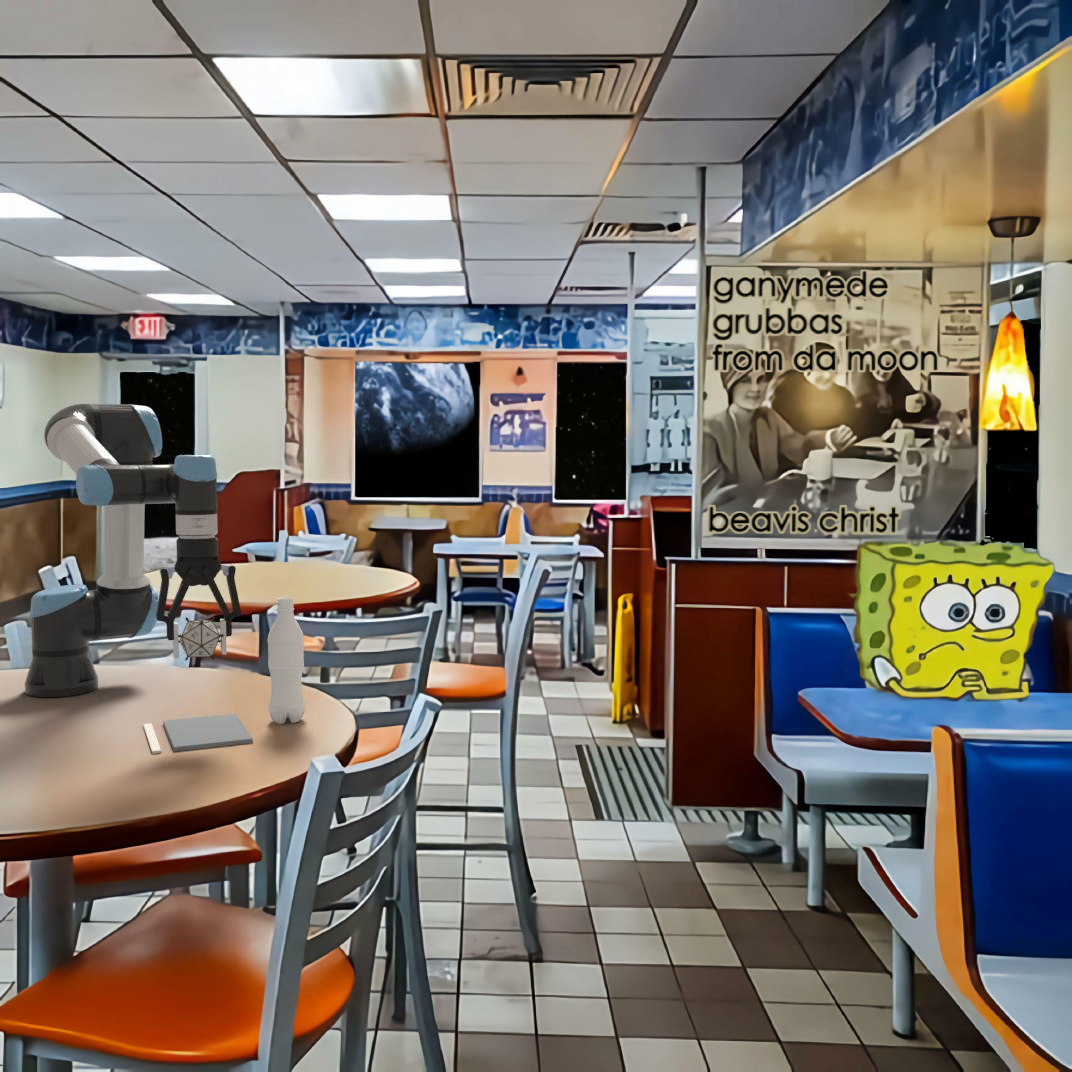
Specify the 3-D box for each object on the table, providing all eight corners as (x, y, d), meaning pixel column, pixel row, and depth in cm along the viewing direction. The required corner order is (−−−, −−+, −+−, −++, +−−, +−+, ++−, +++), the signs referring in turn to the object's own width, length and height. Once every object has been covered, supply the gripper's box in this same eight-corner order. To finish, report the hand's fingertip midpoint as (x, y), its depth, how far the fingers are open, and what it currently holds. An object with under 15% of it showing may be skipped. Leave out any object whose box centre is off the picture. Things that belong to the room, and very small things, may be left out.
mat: (163, 724, 209) (163, 720, 209) (235, 717, 215) (235, 713, 215) (174, 751, 191) (174, 747, 191) (252, 742, 197) (252, 738, 197)
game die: (203, 680, 200) (208, 643, 194) (165, 661, 201) (167, 624, 195) (230, 652, 207) (234, 615, 201) (192, 634, 208) (196, 597, 202)
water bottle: (312, 718, 215) (310, 596, 213) (292, 727, 208) (290, 601, 206) (281, 715, 217) (279, 595, 215) (261, 723, 210) (259, 599, 208)
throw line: (143, 726, 208) (143, 724, 208) (151, 725, 208) (151, 723, 208) (152, 753, 190) (152, 751, 190) (161, 752, 190) (161, 750, 190)
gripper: (139, 540, 192) (143, 663, 194) (256, 536, 200) (258, 654, 202) (137, 536, 199) (140, 655, 201) (250, 533, 207) (252, 647, 209)
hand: (200, 654), depth 201 cm, fingers closed on game die, 8 cm apart
